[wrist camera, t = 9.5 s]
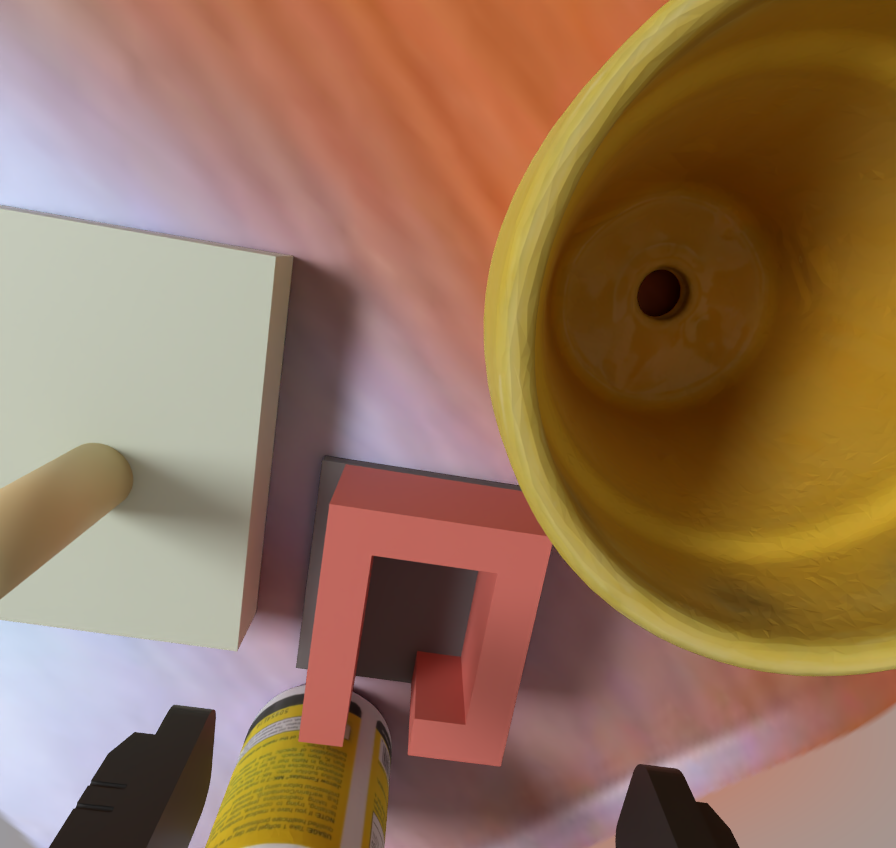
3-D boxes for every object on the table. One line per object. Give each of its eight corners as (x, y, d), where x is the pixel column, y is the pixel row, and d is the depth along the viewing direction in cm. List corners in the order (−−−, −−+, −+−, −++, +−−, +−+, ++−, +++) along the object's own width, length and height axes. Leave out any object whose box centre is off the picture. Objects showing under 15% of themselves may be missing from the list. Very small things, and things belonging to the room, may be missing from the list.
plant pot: (493, 61, 16) (580, -210, 7) (882, 123, 17) (1470, -47, 7) (439, 449, 19) (446, 648, 9) (776, 490, 19) (1105, 719, 10)
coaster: (324, 455, 19) (322, 460, 18) (556, 491, 19) (559, 496, 19) (298, 659, 20) (296, 667, 20) (511, 688, 21) (512, 696, 21)
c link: (346, 464, 18) (329, 503, 15) (535, 493, 19) (553, 537, 16) (317, 671, 20) (298, 741, 17) (491, 693, 20) (500, 766, 18)
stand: (-12, 202, 17) (-317, 169, 10) (293, 255, 17) (202, 258, 10) (-7, 576, 19) (-241, 749, 13) (255, 612, 20) (166, 796, 13)
